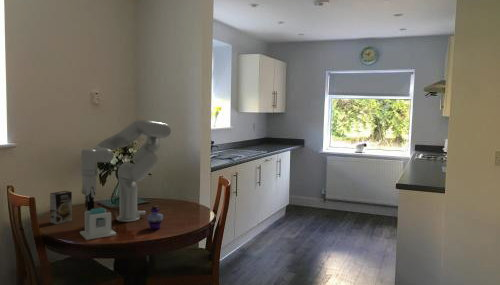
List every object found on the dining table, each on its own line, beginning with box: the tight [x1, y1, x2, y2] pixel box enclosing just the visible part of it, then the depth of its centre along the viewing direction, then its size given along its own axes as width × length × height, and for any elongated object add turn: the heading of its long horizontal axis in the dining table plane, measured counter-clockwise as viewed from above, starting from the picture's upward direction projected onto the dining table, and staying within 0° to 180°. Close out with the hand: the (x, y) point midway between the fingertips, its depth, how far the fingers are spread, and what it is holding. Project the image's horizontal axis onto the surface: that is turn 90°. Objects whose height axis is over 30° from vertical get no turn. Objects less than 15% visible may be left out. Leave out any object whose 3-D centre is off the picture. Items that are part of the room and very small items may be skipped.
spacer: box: [91, 207, 106, 218], centre depth 198 cm, size 6×4×4 cm
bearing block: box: [79, 208, 117, 241], centre depth 198 cm, size 14×12×11 cm
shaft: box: [86, 194, 105, 226], centre depth 202 cm, size 3×22×12 cm, turn 36°
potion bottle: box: [146, 205, 164, 231], centre depth 209 cm, size 9×9×12 cm
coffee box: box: [49, 190, 73, 225], centre depth 219 cm, size 9×6×16 cm
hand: (89, 207), depth 210 cm, fingers closed on shaft, 3 cm apart
